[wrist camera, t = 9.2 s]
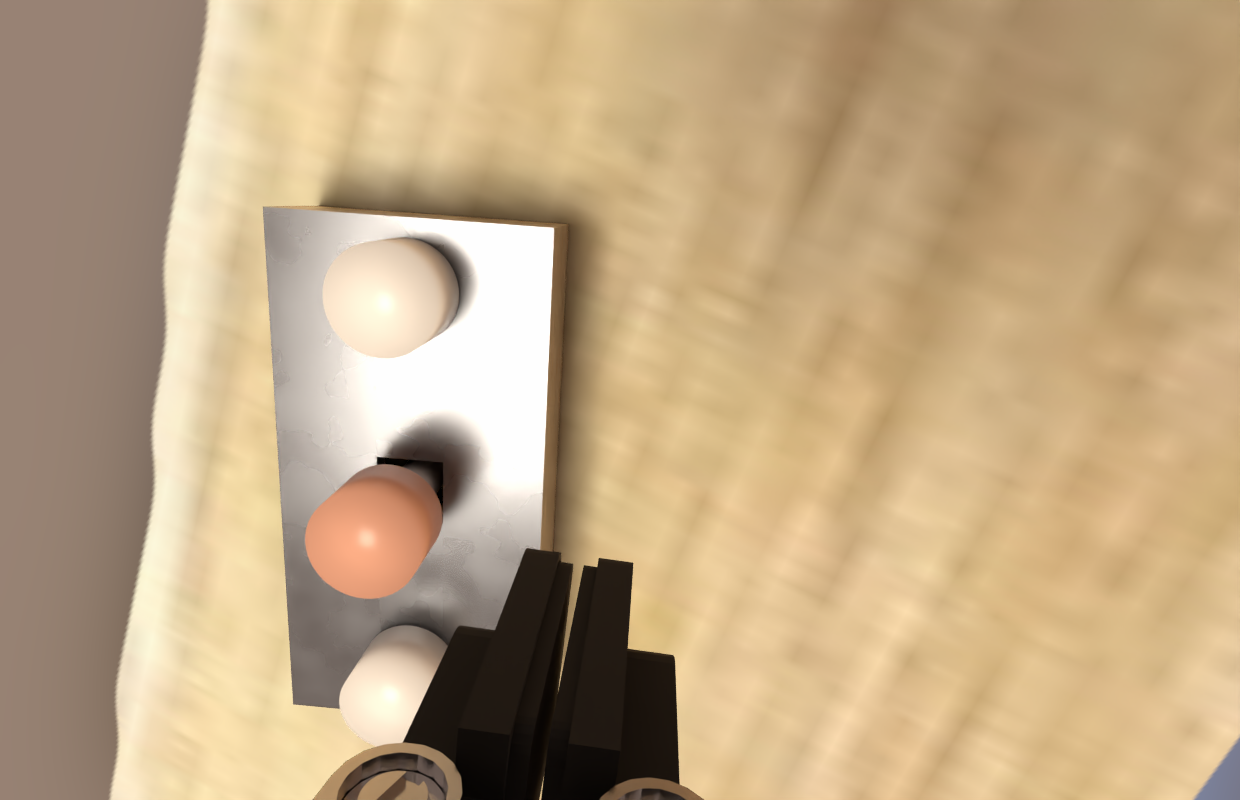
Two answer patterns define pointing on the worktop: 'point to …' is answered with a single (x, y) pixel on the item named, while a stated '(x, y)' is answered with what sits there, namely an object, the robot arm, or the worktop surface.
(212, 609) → the worktop surface
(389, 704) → the far knob
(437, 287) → the near knob
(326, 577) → the middle knob
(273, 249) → the knob panel
